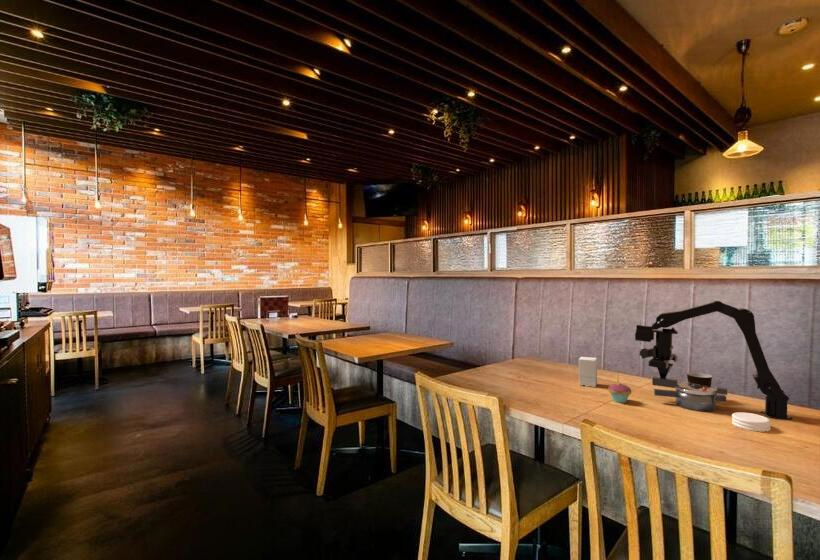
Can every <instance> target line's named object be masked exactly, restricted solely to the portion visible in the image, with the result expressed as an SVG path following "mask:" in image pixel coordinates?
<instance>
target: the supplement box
mask: <svg viewBox="0 0 820 560" xmlns="http://www.w3.org/2000/svg"><path fill="white" fill-rule="evenodd" d="M579 384H580V385H585V386H584V387H588V386H592V387H591V388H596V387H597V386H596V385H598V358H597V357H590V356H580V357H579V358H578V385H579Z"/></svg>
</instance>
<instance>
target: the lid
mask: <svg viewBox="0 0 820 560" xmlns="http://www.w3.org/2000/svg"><path fill="white" fill-rule="evenodd" d="M678 381H679V379H676V378H667V377H666V378H660V376H653V377H652V384H651V385H652V386H658V387H664V388H671V389H675V391H676V390H678V391H681V392H685V393H689V394H695V395H716V394H721V395H725V396H726V395H727V396H728V388H727V387H719V386H717V389H716V388H714V387H712V386H711V387H709V386H705V385H700V384H696V383H692V384H691V383H688V382H684V383H683V382H681V383H680V382H678Z"/></svg>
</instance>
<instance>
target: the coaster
mask: <svg viewBox="0 0 820 560" xmlns="http://www.w3.org/2000/svg"><path fill="white" fill-rule="evenodd" d="M731 417H732V418H731V423H732V425H733V426H735V427H736V426H737V428H739V429H742V428H743V429H742V430H745V429H747V431H750V430H752V431H751V432H757V431H759V433H766V432H765V431H767V432H769V431H771V420H770V419H769V418H768V417H767V416H766V417H765V416H763V415H760V414H756V413H752V412H751V413H750V412H744V411H743V412H742V411H741V412H739V411H737V412H734V413H732V414H731Z"/></svg>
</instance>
